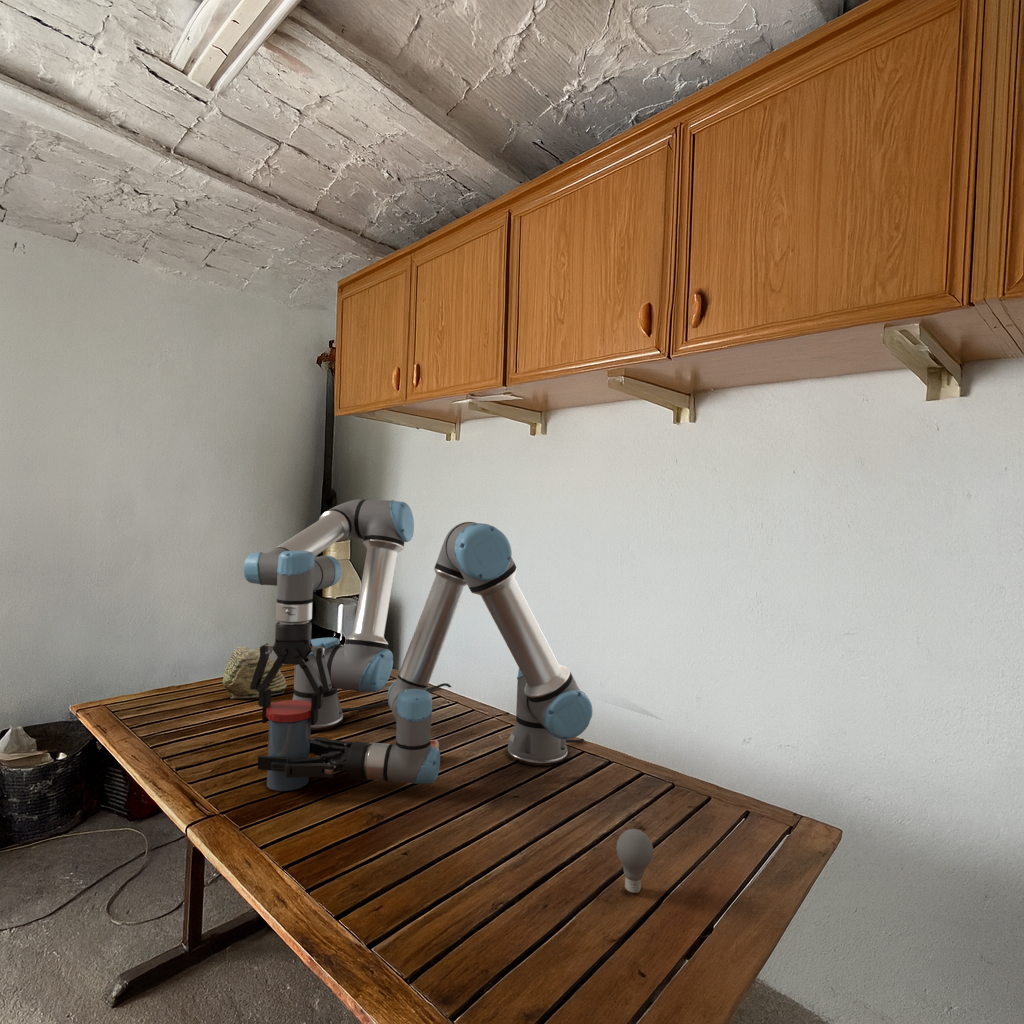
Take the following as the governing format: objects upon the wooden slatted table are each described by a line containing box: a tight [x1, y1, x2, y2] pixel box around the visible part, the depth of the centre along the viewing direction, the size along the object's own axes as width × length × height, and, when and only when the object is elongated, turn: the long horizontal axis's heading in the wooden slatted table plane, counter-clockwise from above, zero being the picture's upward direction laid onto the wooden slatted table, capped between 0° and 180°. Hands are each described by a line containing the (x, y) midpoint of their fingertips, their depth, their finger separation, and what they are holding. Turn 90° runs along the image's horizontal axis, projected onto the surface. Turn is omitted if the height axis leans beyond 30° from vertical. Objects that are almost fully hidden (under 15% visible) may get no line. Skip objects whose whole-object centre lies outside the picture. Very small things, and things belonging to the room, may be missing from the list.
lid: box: [266, 699, 311, 722], centre depth 140 cm, size 10×10×2 cm
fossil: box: [222, 646, 288, 699], centre depth 198 cm, size 9×18×15 cm, turn 132°
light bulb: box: [615, 828, 654, 894], centre depth 106 cm, size 6×6×10 cm
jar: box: [266, 717, 312, 792], centre depth 140 cm, size 9×9×16 cm
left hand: (290, 721), depth 140 cm, fingers closed on lid, 10 cm apart
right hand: (268, 753), depth 140 cm, fingers closed on jar, 9 cm apart
